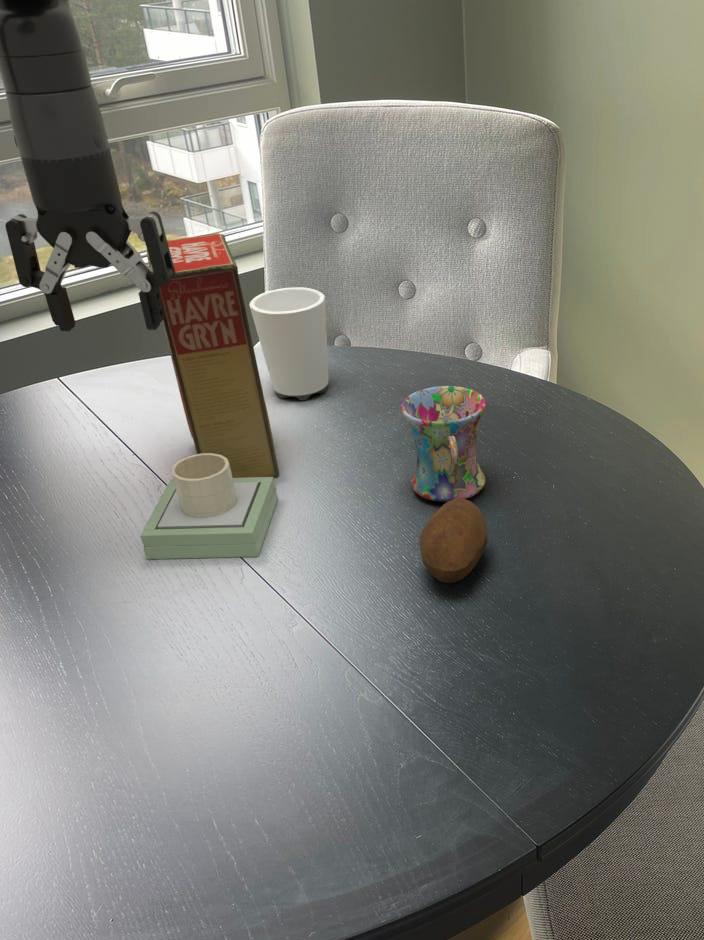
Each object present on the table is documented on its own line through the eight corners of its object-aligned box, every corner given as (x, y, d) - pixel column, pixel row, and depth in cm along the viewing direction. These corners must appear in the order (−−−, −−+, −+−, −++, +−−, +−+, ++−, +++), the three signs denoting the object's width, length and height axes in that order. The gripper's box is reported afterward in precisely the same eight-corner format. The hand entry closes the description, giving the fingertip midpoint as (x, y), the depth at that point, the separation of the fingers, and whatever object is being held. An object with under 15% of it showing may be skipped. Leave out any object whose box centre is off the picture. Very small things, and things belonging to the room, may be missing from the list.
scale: (146, 559, 103) (139, 535, 101) (175, 502, 112) (169, 479, 111) (258, 556, 103) (253, 532, 101) (278, 499, 112) (273, 476, 110)
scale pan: (160, 537, 103) (157, 526, 102) (181, 494, 110) (179, 484, 109) (244, 535, 103) (241, 524, 102) (260, 492, 110) (258, 481, 109)
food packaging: (193, 443, 124) (143, 240, 108) (266, 430, 126) (227, 229, 111) (203, 491, 114) (149, 276, 98) (282, 477, 116) (242, 263, 101)
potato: (414, 600, 95) (409, 541, 91) (429, 537, 104) (424, 480, 100) (483, 601, 95) (480, 541, 90) (491, 538, 104) (489, 480, 99)
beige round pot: (174, 518, 103) (164, 481, 101) (188, 490, 108) (179, 453, 105) (230, 517, 103) (221, 479, 100) (242, 488, 108) (234, 452, 105)
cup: (252, 391, 136) (235, 300, 128) (310, 370, 141) (296, 281, 133) (292, 412, 130) (276, 318, 122) (351, 389, 135) (339, 298, 127)
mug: (404, 474, 115) (396, 390, 109) (481, 465, 116) (477, 381, 110) (417, 526, 106) (409, 438, 100) (500, 516, 107) (497, 428, 101)
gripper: (156, 136, 88) (192, 314, 98) (2, 139, 88) (54, 316, 98) (130, 154, 82) (172, 341, 92) (-35, 157, 82) (24, 343, 92)
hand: (111, 328), depth 95 cm, fingers open, 8 cm apart
